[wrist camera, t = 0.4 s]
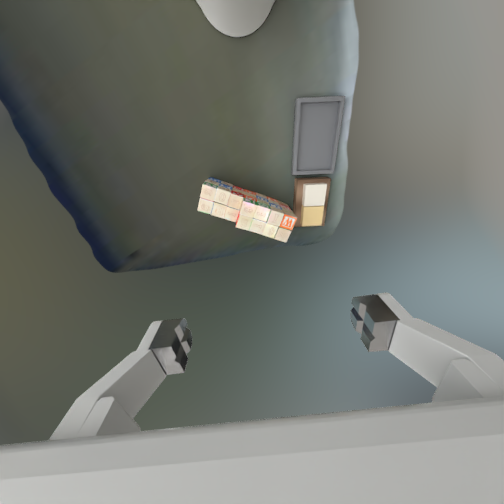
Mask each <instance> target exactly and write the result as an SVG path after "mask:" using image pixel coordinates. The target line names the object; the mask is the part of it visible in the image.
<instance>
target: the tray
mask: <svg viewBox="0 0 504 504" xmlns="http://www.w3.org/2000/svg"><path fill="white" fill-rule="evenodd" d="M344 102H345V96H330V97H307V98H297V99H295V114H294V133H293V151H292V170H291V174H292V175H307V174H330V173H334V169H335V162H336V156H337V149H338V142H339V136H340V129H341V122H342V116H343V109H344Z"/></svg>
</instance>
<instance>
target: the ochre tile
mask: <svg viewBox="0 0 504 504" xmlns="http://www.w3.org/2000/svg"><path fill="white" fill-rule="evenodd" d="M323 211H324V206H303V205H302V209H301V221H300V224H301V225H302V226H319V225H322V218H323Z"/></svg>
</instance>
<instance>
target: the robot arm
mask: <svg viewBox="0 0 504 504" xmlns="http://www.w3.org/2000/svg"><path fill="white" fill-rule="evenodd" d="M196 1H197V3H198V4H199V6H200V7H201V9H202V11H203V13H204V14H205V16H206V18H207V19H208V20H209V22H210V23H211V24H212V25H213V26H214V27H215V28H216V29H217V30H219V31H220V32H222V33H223V34H226V35H228V36H232V37H242V36H246V35H249V34H251V33H253V32H254V31H255V30H257V29H258V28H259V27H260V26H261V25H262V24H263V22H264V21H265V19H266V18H267V16H268V14H269V13H270V10H271V8H272V6H273V4H274V2H275V0H196ZM352 305H353V306H354V307H353V309H352V310H351V313H350V316H351V322H352V324H353V326H354V328H355V330H356V331H357V332H359V333H361V340H362V342H363V343H364V345H365V347H366V348H367V350H368V352H373V351H384V350H389V352H390V353H392V354H393V355H394V356H396V357H397V358H398V359H400V360H401V361H402V362H404V363H405V364H407V365H408V366H409V367H411V368H412V369H413V370H415V371H416V372H417V373H419V374H420V375H421V376H423V377H424V378H425V379H427V380H428V381H429V382H431V383H432V384H433V385H435V386H436V387H437V390H436V391H435V394H434V395H433V398H432V402H433V403H423V404H413V405H404V406H393V407H383V408H373V409H362V410H352V411H343V412H332V413H322V414H312V415H301V416H291V417H281V418H272V419H260V420H252V421H251V420H250V421H240V422H230V423H220V424H210V425H201V426H190V427H180V428H170V429H160V430H150V431H140V427H139V425H138V424H137V423H136V422H135V421H134V420H133V418H134V417H135V415H136V414H137V413H138V411H139V410H140V409H141V408H142V406H143V405H144V404H145V403H146V401H147V400H148V399H149V397H150V396H151V395H152V394H153V392H154V391H155V390H156V388H157V387H158V386H159V385H160V384H161V382H162V381H163V380H164V378H165V377H166V375H169V374H177V373H183V372H185V368H186V364H187V361H188V357H187V355H186V354H187V353H188V352H189V351H190V349H191V346H192V334H191V331H190V330H189V329H188V328H186V326H187V322H186V320H185V319H184V318H182V319H172V320H164V321H154V322H153V323H151V325H150V327H149V328H148V330H147V332H146V334H145V336H144V338H143V339H142V341H141V343H140V345H139V347H138V349H137V351H135V352H132V353H131V354H130V355H128V356H127V357H126V358H125V359H124V360H122V361H121V362H120V363H119V364H118V365H117V366H116V367H114V368H113V369H112V370H111V371H109V372H108V373H107V374H106V375H105V376H103V377H102V378H101V379H100V380H99V381H97V382H96V383H95V384H94V385H93V386H92V387H90V388H89V389H88V390H87V391H86V392H85V393H83V394H82V395H81V396H80V397H78V398H77V399H76V401H75V402H74V404H73V405H72V407H71V408H70V410H69V411H68V412H67V414H66V415H65V417H64V418H63V420H62V422H61V423H60V425H59V426H58V427H57V429H56V430H55V432H54V433H53V435H52V436H51V438H50V439H49V440H48V441H38V442H29V443H18V444H9V445H0V504H504V361H503V360H502V359H501V358H500V357H498V356H497V355H496V354H494V353H492V352H490V351H487V350H485V349H483V348H481V347H479V346H477V345H475V344H472V343H470V342H468V341H466V340H464V339H462V338H459V337H457V336H455V335H452V334H451V333H448V332H446V331H444V330H442V329H440V328H438V327H435V326H433V325H431V324H429V323H427V322H425V321H422V320H420V319H418V318H416V319H414V318H413V317H412V316H411V315H410V314H409V313H408V312H407V311H406V310H405V309H404V308H403V307H402V306H401V305H400V304H399V303H398V302H397V301H396V300H395V299H394V298H393V297H392V296H391V295H390V294H389V293H381V294H375V295H374V294H373V295H365V296H359V297H353V299H352Z"/></svg>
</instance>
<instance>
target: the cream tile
mask: <svg viewBox="0 0 504 504" xmlns="http://www.w3.org/2000/svg"><path fill="white" fill-rule="evenodd" d="M326 189H327V184H326V183H308V184H304V185H303V197H302V205H303V206H324V203H325V196H326Z"/></svg>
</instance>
